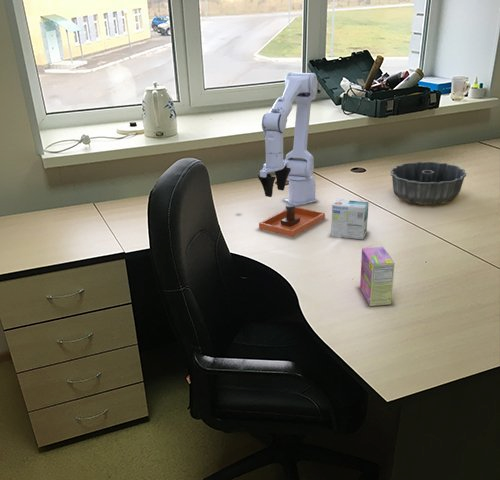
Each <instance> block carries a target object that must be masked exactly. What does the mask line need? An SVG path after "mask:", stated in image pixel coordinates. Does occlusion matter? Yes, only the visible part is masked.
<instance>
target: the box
mask: <svg viewBox="0 0 500 480" xmlns="http://www.w3.org/2000/svg"><path fill="white" fill-rule="evenodd" d="M360 259H361V260H360V261H361V262H360V279H359V280H360V281H359V289H360V291H361V292H362V294H363V296H364V299H365V300H366V302H367V304H368V305H369V307H377V306H389V305H392V298H393V297H392V296H393V286H394V276H395V267H396V266H395V265H396V263H395V261H394V260H393V258H392V257H391V256H390V254H389V253H388V252H387V250H386V249H385V248H384V246H372V247H371V246H370V247H362V248H361V258H360Z"/></svg>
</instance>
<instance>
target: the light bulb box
mask: <svg viewBox="0 0 500 480" xmlns="http://www.w3.org/2000/svg"><path fill="white" fill-rule="evenodd" d="M369 202H370V201H369V200H362V199H361V200H359V199H344V198H336V199H335V200H334V202H333V203H332V205H331V227H330V228H331V229H330V232H331V233H330V236H332V237H340V238H344V239H352V240H353V239H355V240H364V239H365V236H366V235H367V233H368V232H367V231H368V220H369V219H368V218H369V204H370V203H369Z"/></svg>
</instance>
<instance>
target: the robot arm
mask: <svg viewBox="0 0 500 480" xmlns="http://www.w3.org/2000/svg"><path fill="white" fill-rule="evenodd" d="M318 83H319V82H318V77H317V75H316V73H315V72H290V71H289V72H288V73H287V74H286V75H285V77H284V91H283V93H282V96H279V97H278V98H277V99H276V100H275V102H274V104H273V105H272V107H271V108H270V109H269V111H267V112H266V113H264V114H263V115H262V118H261V129H262V131H263V137H264V143H265V145H264V146H265V147H264V148H265V150H264V151H265V163H263V165H262V169H261V170H259V174H258V175H257V177H258V180H259V182H260V184H261V186H262V188H263V192H264V197H268V198H272V197H273V193H274V191H273V190H274V184H275V180H276V188H277V190H278V191H284V190H285V187H286V183H287V180H288V197H287V198H284V199H283V200H284V201H286V202H288V204H294V205H295V206H300V205H305V204H312V203H316V202H317V199H316V191H317V190H316V189H317V187H316V185H317V184H316V180H315V177H314V176H313V174H314V169H315V164H314V159H315V158H314V156H313V154H312V153H310V152H309V151H308V141H309V129H310V118H311V117H310V116H311V106H312V101H314V100H316V98H317V93H318ZM294 101H295V102H296V109H295V111H296V112H295V122H294V135H293V144H292V146H293V148H292V150H291V151H289V152H288V153H287V154H286V155H285V159H284V132H285V130H286V128H287V123H288V117H289V116H290V114H291V112H292V110H293V102H294ZM271 174H274V175H275V176H272V175H271Z"/></svg>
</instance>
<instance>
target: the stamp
mask: <svg viewBox="0 0 500 480" xmlns="http://www.w3.org/2000/svg"><path fill="white" fill-rule="evenodd" d="M295 207H296V205H294V204H291V203H287V204H286V205H285V209H286V218H284V219H283V220H281V225H284V226H288V227H292V226H293V225H295V224H297V223H299V222H300V218H299V217H295Z"/></svg>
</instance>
